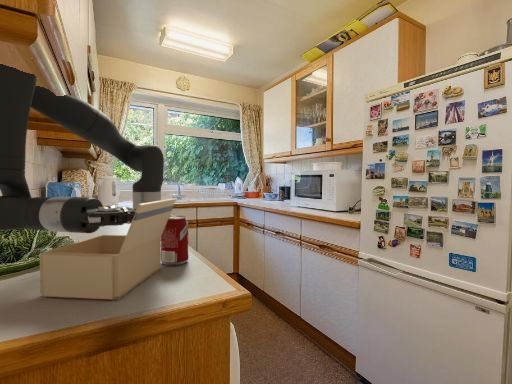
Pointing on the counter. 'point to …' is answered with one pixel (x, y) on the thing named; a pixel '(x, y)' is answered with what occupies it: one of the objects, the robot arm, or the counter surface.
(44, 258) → the carton
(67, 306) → the counter surface
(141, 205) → the flap
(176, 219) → the soda can
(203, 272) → the counter surface
